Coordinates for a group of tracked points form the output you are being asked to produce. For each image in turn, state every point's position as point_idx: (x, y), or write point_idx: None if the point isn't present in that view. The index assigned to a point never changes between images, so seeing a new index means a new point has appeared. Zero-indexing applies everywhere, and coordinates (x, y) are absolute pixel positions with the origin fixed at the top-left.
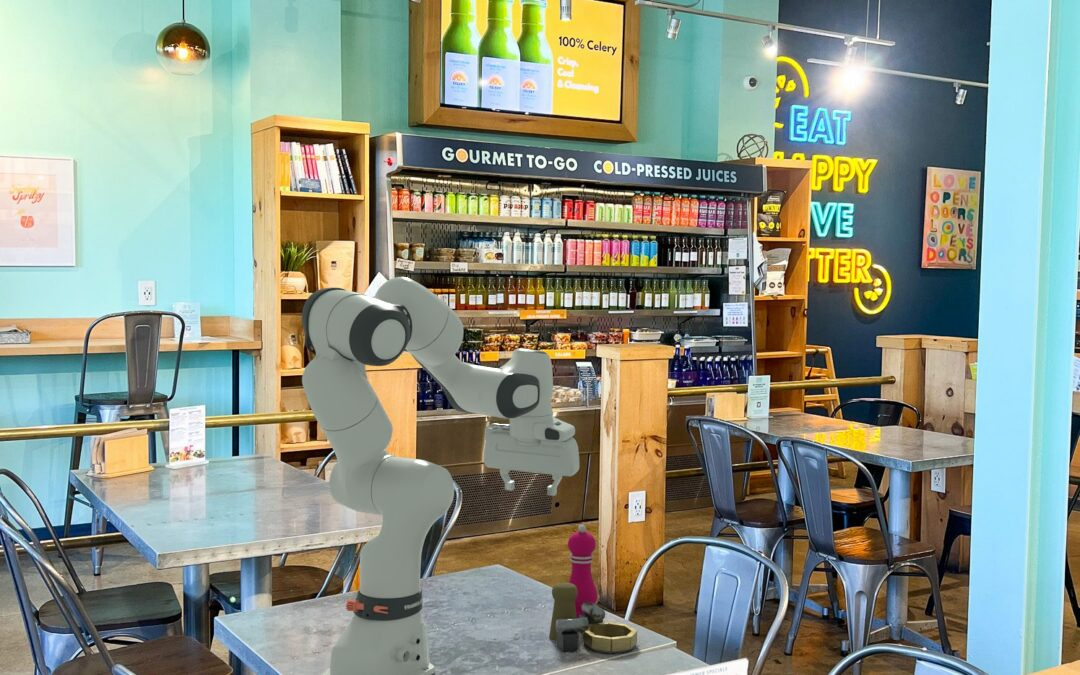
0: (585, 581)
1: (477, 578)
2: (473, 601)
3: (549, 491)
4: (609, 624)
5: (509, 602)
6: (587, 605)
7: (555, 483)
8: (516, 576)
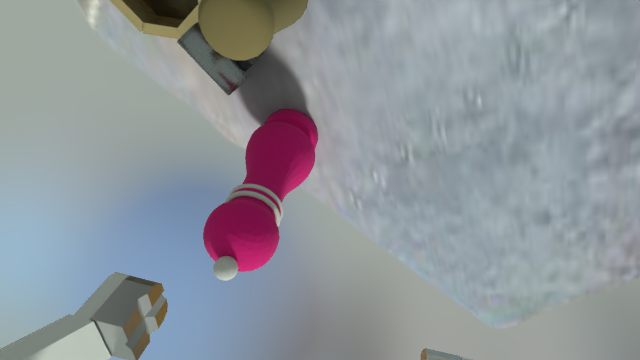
0: (252, 160)
1: (524, 285)
2: (523, 176)
3: (125, 295)
4: (177, 27)
5: (444, 182)
6: (223, 66)
7: (27, 341)
8: (453, 296)
